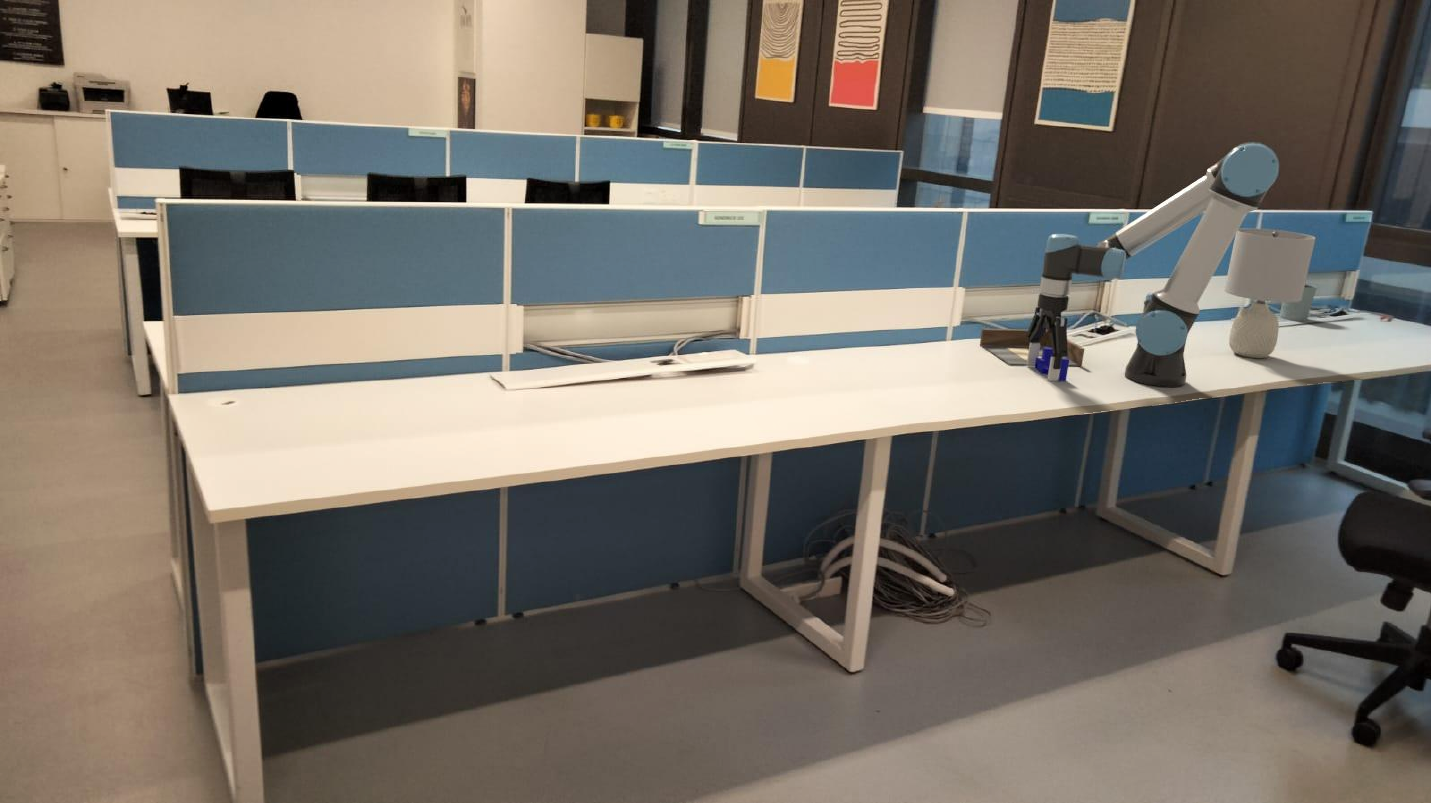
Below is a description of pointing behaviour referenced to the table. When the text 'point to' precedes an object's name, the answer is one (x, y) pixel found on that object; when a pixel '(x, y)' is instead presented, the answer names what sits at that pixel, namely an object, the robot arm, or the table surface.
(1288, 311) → the grey tapered pot
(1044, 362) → the blue u-shaped bracket
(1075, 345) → the corner arena
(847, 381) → the table surface
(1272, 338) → the lamp
